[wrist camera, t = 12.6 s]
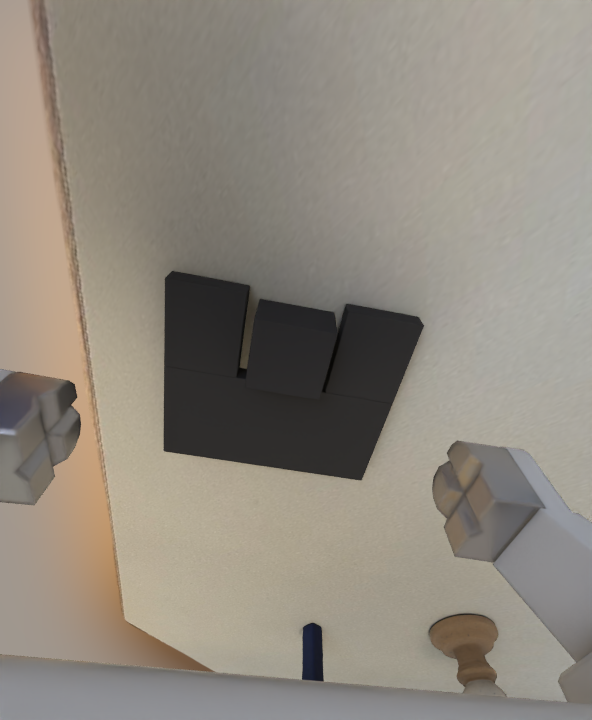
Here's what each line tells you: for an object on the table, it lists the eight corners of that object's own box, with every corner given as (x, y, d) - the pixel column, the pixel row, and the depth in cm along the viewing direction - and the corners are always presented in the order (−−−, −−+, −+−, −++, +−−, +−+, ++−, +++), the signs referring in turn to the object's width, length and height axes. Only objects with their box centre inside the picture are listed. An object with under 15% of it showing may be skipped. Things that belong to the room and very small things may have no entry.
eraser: (311, 632, 52) (313, 695, 46) (300, 626, 51) (300, 690, 45) (323, 627, 51) (326, 691, 45) (312, 621, 50) (314, 685, 44)
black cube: (250, 362, 30) (244, 387, 27) (259, 298, 27) (254, 318, 24) (317, 374, 30) (319, 400, 27) (334, 312, 27) (337, 333, 24)
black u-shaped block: (168, 439, 34) (163, 451, 33) (171, 270, 26) (164, 277, 25) (359, 468, 35) (361, 480, 34) (418, 316, 27) (424, 325, 26)
